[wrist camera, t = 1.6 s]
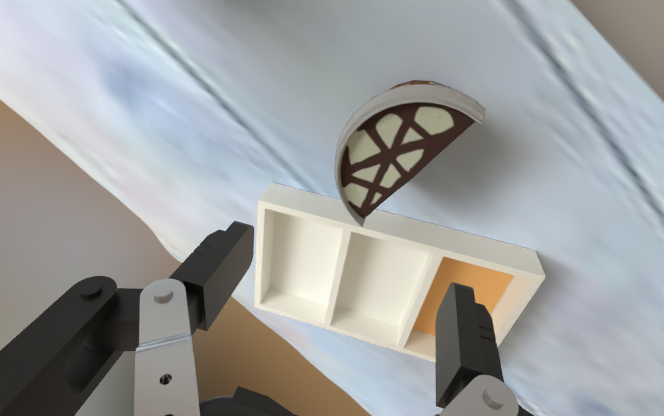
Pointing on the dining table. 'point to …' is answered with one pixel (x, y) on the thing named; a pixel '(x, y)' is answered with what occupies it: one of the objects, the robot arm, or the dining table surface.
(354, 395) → the dining table surface
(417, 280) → the cream compartment tray
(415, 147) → the food container
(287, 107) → the dining table surface
